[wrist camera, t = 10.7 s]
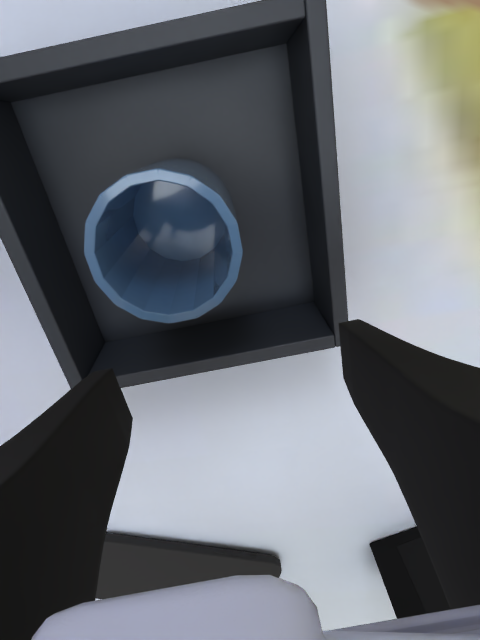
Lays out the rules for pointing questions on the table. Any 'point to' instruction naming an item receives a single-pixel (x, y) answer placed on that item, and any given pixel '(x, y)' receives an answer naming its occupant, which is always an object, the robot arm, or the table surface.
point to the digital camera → (409, 575)
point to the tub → (190, 143)
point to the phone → (171, 565)
